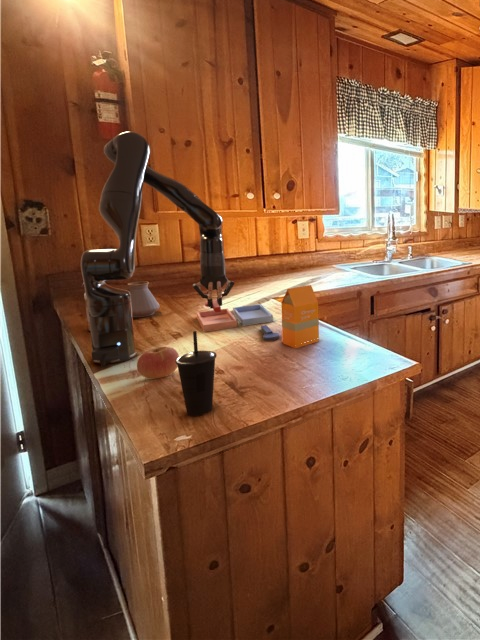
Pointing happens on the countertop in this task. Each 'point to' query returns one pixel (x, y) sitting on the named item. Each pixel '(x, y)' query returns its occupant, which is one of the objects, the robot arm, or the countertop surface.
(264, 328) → the blue spoon
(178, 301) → the countertop surface
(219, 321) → the red tray
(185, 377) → the drinking cup
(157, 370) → the apple
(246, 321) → the blue tray
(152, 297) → the coffee pot
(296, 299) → the orange juice
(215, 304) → the red spoon
